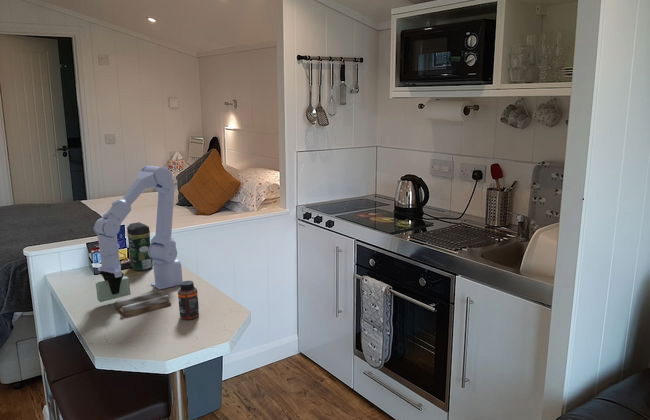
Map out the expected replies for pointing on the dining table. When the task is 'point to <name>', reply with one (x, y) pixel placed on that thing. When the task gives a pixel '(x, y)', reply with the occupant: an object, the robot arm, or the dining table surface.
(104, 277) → the robot arm
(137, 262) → the coffee jar
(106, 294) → the pale green block
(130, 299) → the brown shallow piece
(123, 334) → the dining table surface
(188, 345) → the dining table surface
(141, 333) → the dining table surface
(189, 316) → the supplement bottle
